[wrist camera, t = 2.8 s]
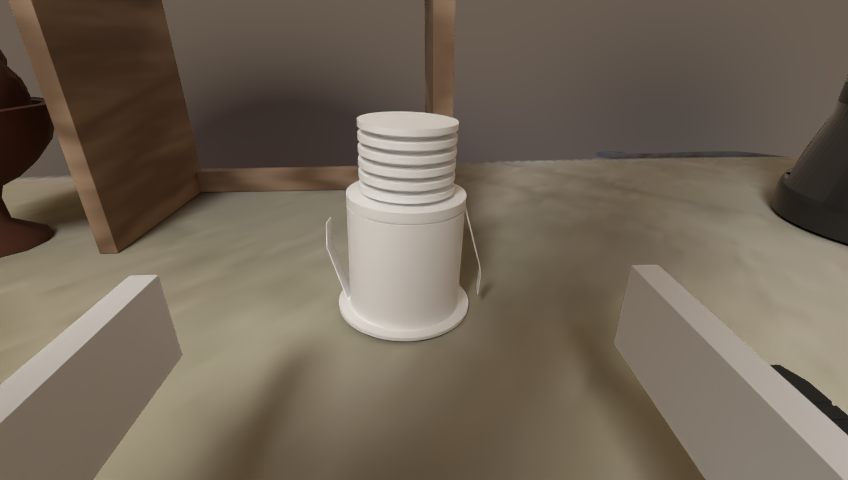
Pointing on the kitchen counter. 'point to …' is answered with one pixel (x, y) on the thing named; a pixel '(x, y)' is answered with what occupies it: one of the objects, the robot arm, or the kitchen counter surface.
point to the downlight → (404, 229)
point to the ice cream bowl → (20, 154)
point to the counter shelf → (158, 111)
